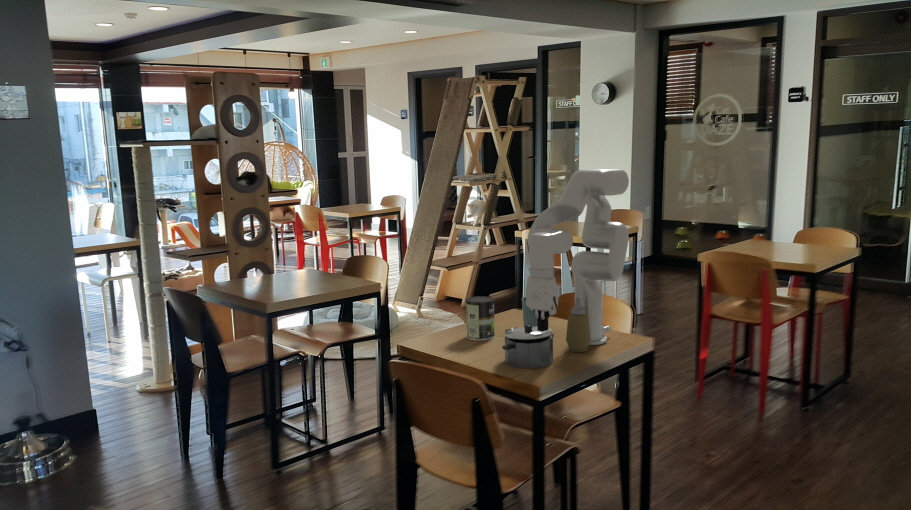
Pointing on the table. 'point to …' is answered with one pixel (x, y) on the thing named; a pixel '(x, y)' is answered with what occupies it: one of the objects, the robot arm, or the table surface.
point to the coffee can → (480, 318)
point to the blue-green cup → (528, 314)
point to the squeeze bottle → (578, 329)
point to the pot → (529, 352)
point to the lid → (526, 333)
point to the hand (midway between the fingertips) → (543, 330)
